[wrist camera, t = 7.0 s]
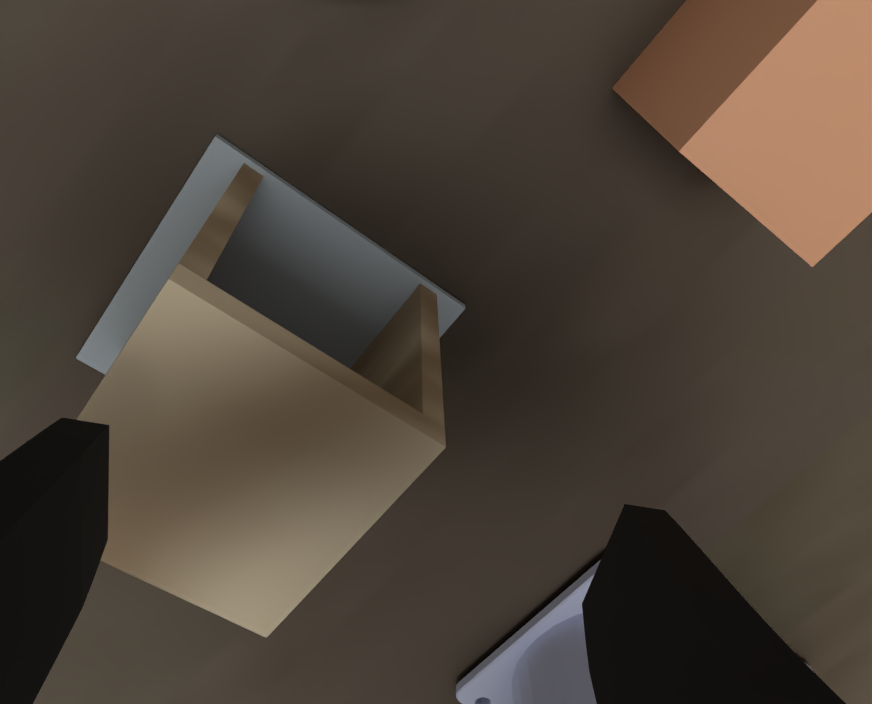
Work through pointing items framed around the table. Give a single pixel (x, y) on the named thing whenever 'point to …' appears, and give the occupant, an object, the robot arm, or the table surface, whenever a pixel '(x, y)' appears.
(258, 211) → the pad
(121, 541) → the beige open box
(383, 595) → the table surface
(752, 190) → the block
